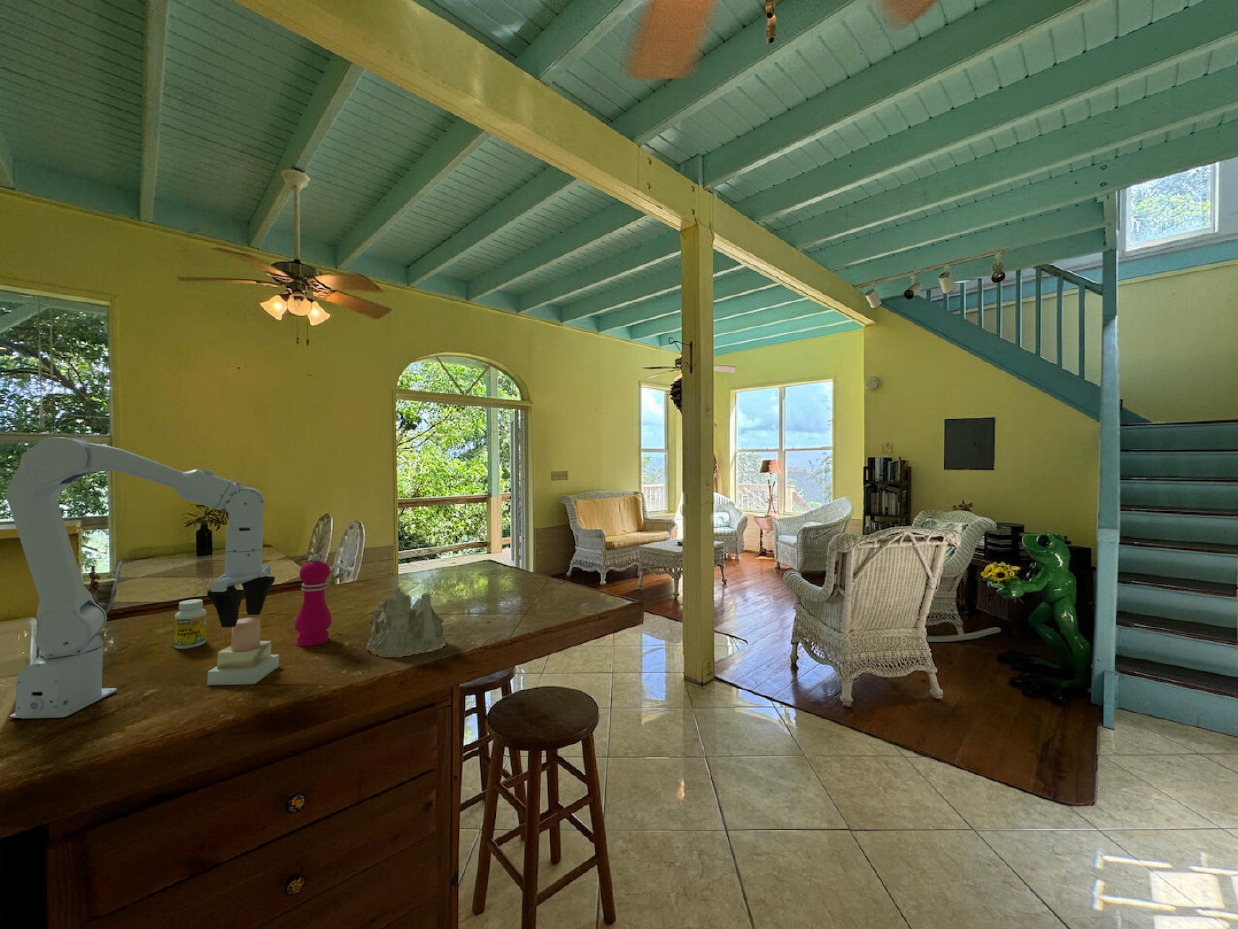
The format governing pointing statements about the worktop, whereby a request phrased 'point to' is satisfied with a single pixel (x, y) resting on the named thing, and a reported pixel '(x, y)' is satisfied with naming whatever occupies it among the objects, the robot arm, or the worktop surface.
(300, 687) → the worktop surface
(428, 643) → the grey rock mountain model
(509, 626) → the worktop surface
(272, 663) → the grey base slab
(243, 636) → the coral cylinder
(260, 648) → the birch top slab
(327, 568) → the pepper mill
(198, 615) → the supplement bottle
